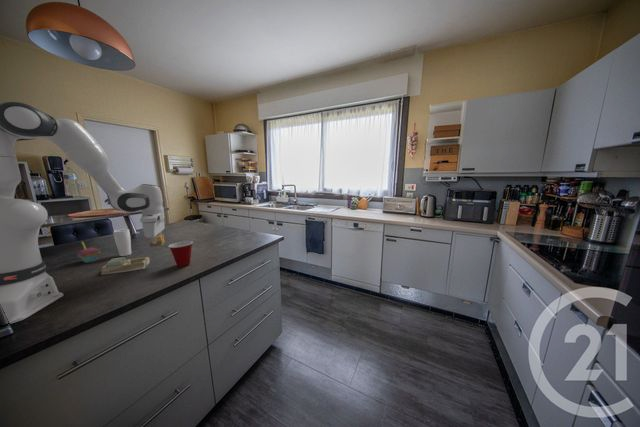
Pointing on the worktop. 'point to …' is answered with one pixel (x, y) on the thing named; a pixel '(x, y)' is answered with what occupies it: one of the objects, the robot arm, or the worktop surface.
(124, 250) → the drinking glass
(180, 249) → the plastic cup
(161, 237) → the ochre block
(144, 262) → the slot board
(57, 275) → the worktop surface
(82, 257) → the cupcake
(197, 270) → the worktop surface
